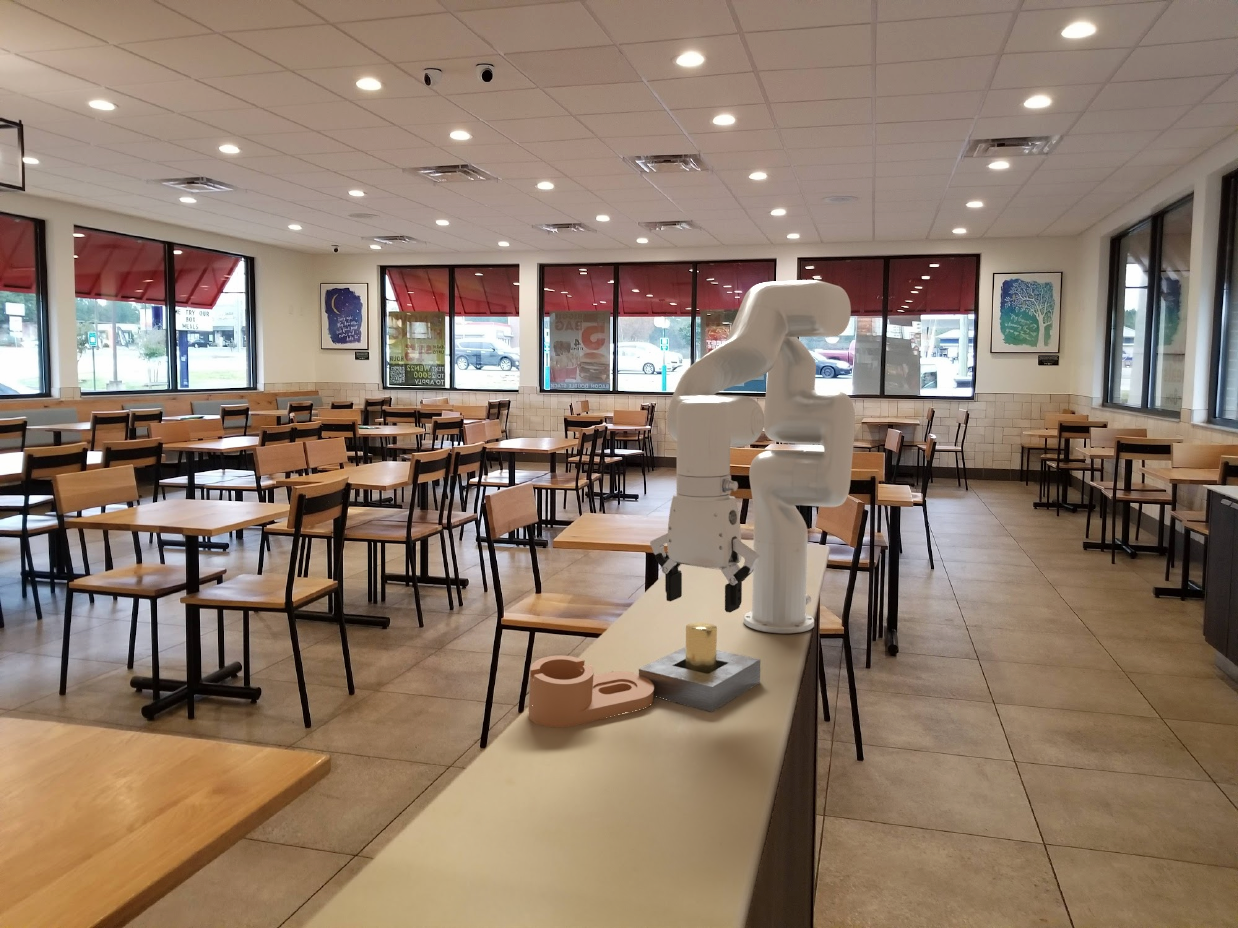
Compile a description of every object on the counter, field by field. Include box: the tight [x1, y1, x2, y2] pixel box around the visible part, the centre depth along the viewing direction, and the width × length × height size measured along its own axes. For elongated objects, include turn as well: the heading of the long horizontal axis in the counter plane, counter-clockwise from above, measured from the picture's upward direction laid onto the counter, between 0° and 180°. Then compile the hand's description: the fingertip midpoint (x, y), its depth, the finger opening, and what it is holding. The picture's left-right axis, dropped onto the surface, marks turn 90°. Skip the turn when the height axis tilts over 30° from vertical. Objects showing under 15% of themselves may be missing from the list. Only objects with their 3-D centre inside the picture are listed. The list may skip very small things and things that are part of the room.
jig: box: [638, 646, 761, 713], centre depth 126 cm, size 14×12×4 cm
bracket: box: [528, 654, 654, 728], centre depth 118 cm, size 18×8×7 cm, turn 120°
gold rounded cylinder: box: [685, 622, 718, 674], centre depth 126 cm, size 4×4×9 cm
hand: (702, 604), depth 125 cm, fingers open, 9 cm apart
